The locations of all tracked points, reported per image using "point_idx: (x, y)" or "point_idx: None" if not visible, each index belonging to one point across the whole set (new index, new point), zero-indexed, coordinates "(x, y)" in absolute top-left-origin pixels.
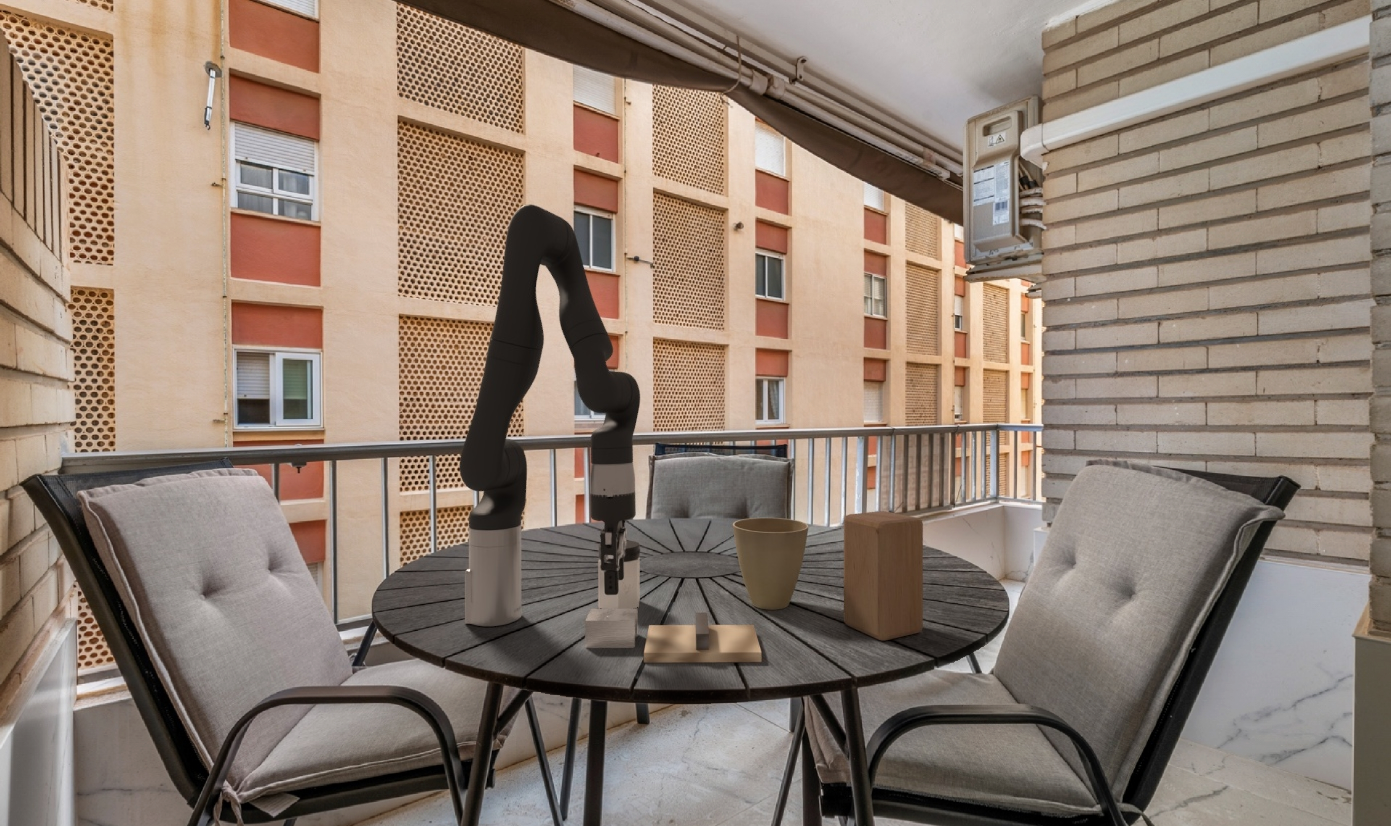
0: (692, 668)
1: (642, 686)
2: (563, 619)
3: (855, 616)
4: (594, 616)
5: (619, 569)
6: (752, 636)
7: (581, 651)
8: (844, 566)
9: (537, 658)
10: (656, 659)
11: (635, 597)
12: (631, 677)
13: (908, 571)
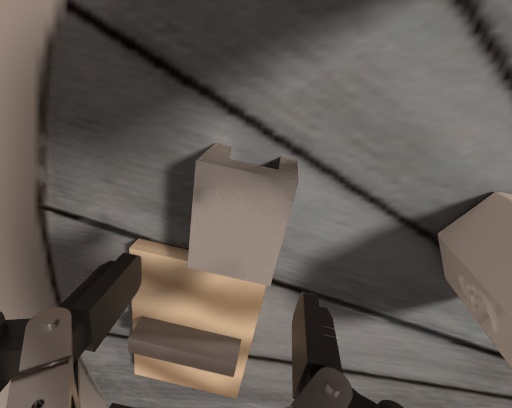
0: None
1: (53, 222)
2: (447, 86)
3: None
4: (228, 186)
5: (295, 343)
6: (190, 383)
7: (196, 133)
8: None
9: (161, 22)
10: None
11: (456, 290)
12: (82, 212)
13: None
